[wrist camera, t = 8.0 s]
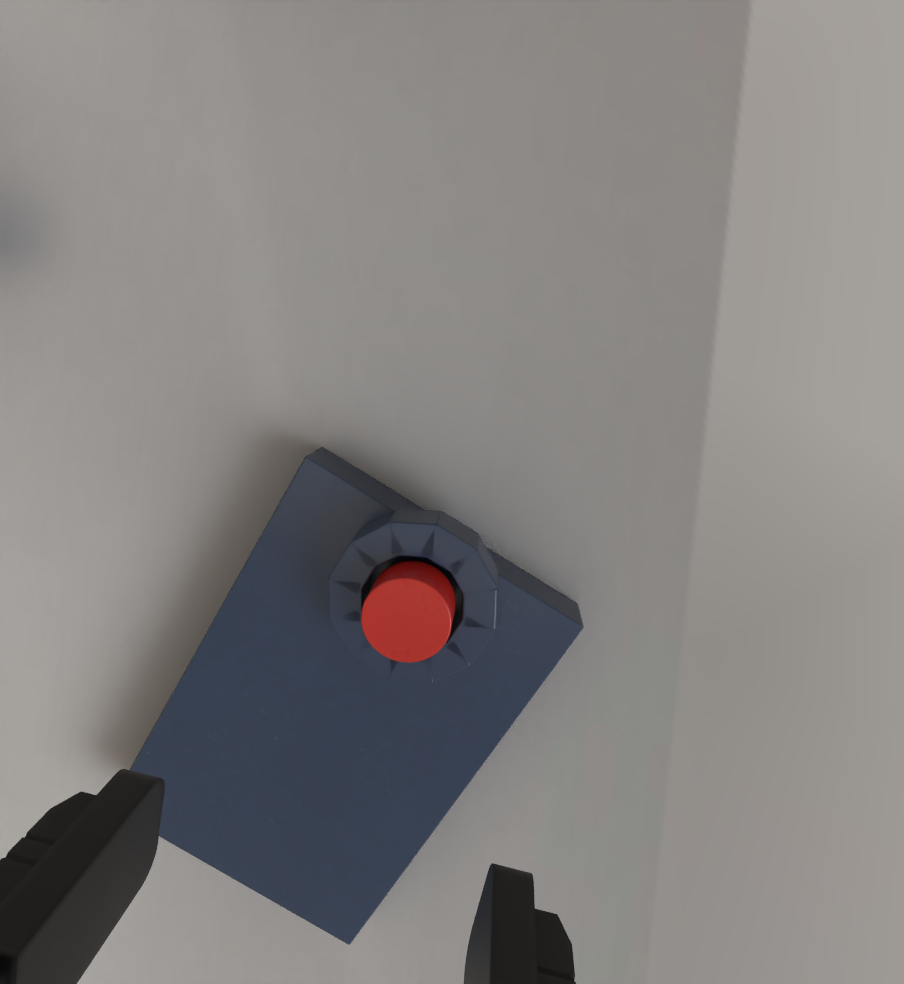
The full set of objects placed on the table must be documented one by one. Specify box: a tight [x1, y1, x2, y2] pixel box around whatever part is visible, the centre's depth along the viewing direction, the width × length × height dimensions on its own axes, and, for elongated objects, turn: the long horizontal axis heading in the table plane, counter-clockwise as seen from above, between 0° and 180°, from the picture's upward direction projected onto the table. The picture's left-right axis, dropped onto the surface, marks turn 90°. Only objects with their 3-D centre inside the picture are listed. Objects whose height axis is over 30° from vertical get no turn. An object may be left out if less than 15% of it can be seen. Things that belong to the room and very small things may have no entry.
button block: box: [130, 447, 583, 944], centre depth 27 cm, size 19×12×4 cm, turn 149°
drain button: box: [361, 561, 456, 662], centre depth 23 cm, size 3×3×2 cm
